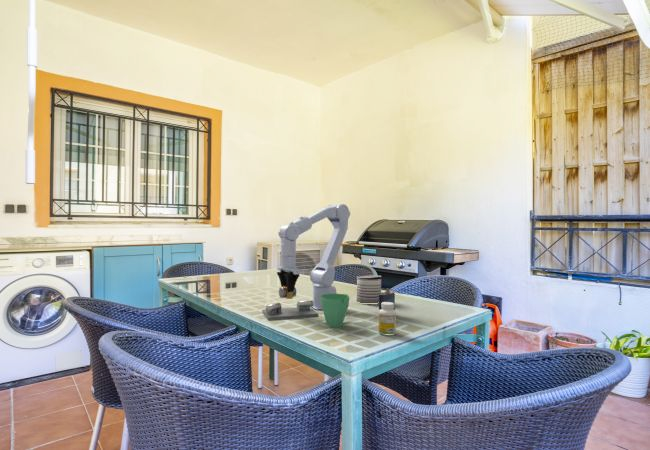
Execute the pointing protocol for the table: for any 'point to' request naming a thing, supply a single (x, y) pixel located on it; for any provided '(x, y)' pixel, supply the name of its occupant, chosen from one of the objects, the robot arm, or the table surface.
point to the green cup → (335, 308)
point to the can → (368, 289)
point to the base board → (290, 314)
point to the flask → (387, 298)
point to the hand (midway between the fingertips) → (287, 290)
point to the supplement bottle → (387, 318)
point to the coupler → (286, 293)
